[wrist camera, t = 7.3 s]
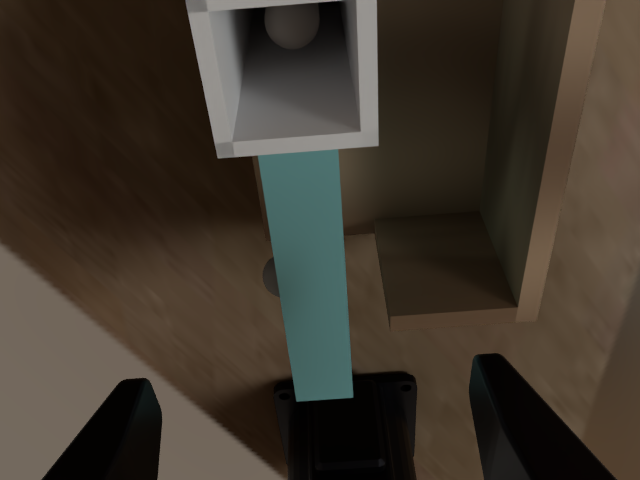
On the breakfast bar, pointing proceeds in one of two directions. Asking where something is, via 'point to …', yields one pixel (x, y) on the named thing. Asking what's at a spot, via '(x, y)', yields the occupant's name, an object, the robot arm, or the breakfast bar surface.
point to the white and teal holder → (296, 157)
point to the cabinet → (463, 150)
